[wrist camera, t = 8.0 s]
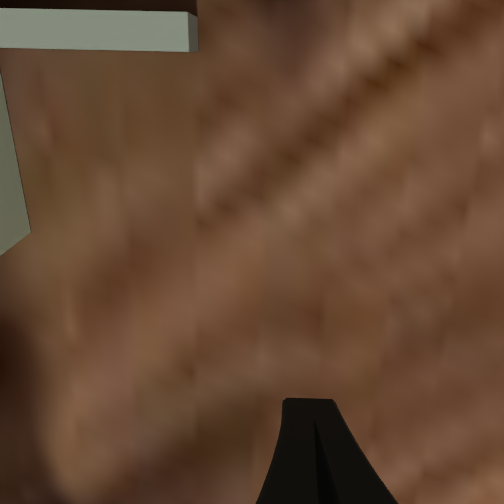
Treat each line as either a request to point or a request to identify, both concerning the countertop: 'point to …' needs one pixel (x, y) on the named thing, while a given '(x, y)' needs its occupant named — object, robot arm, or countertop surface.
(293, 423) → the robot arm
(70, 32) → the deck mount
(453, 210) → the countertop surface
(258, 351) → the countertop surface
